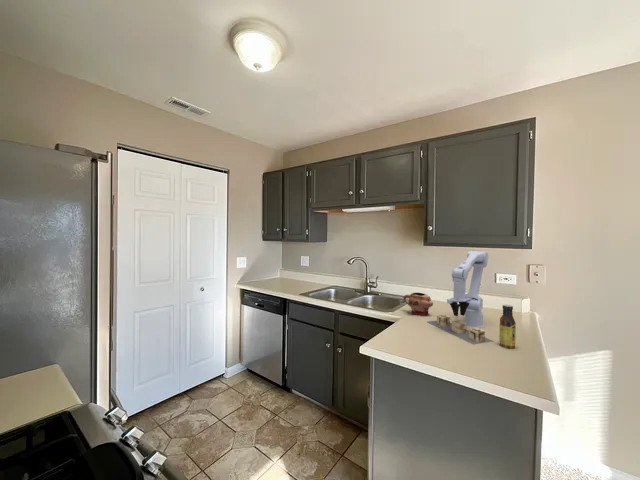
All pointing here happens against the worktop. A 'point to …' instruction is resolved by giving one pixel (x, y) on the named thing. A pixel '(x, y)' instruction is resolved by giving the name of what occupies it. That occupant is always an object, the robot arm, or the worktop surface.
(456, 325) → the plain maple block
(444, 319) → the maple block marked 1
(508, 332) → the sauce bottle
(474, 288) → the robot arm
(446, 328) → the charcoal mat
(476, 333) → the maple block marked 7
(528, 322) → the worktop surface
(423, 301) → the decorative planter
